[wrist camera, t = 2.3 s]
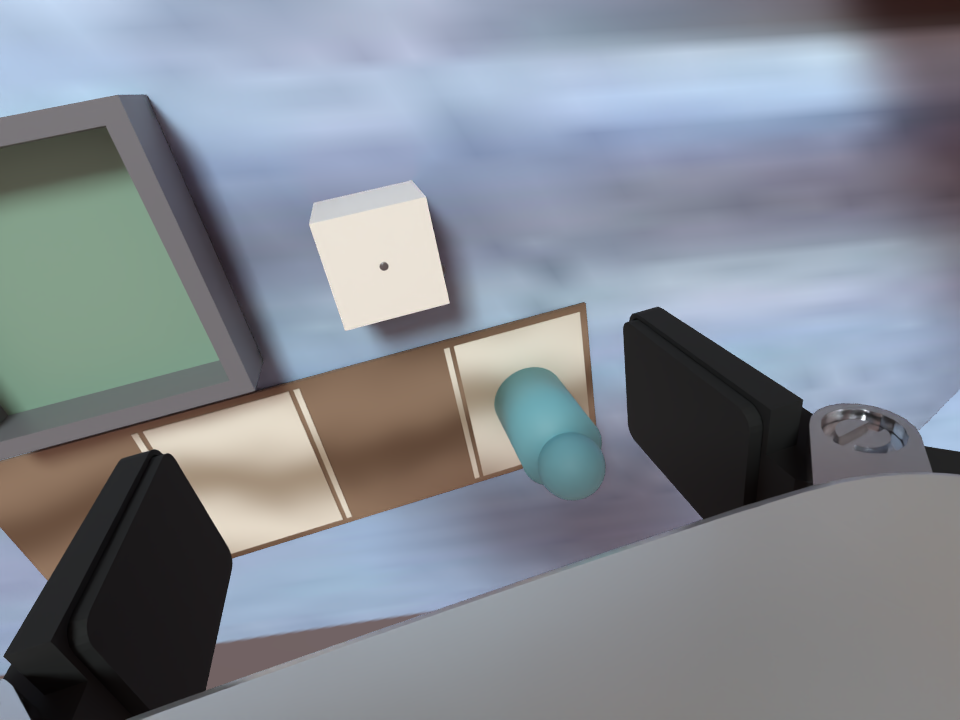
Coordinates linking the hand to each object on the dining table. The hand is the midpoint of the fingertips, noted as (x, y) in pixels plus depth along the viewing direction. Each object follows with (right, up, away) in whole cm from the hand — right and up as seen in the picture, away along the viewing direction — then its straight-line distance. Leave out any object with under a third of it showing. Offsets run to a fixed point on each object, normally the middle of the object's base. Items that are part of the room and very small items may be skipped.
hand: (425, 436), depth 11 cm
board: (-8, -4, +18) cm, 20 cm away
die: (-4, +7, +14) cm, 16 cm away
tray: (-16, +5, +12) cm, 21 cm away
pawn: (+4, -1, +20) cm, 20 cm away
